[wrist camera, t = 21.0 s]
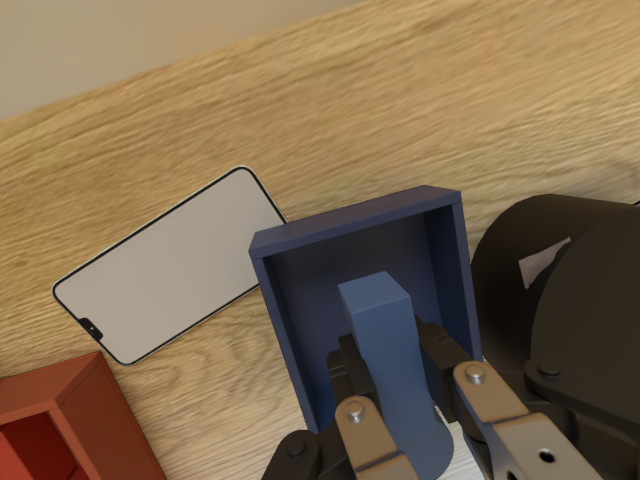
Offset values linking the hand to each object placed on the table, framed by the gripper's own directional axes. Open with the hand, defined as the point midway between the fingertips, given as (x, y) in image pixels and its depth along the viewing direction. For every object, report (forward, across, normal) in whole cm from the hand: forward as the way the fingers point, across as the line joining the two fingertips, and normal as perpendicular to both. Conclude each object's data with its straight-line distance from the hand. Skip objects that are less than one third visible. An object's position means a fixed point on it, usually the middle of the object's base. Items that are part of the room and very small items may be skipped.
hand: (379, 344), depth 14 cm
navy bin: (+9, -1, +2) cm, 9 cm away
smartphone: (+9, +10, -3) cm, 14 cm away
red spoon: (+8, +23, +7) cm, 25 cm away
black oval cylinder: (+9, -16, +7) cm, 20 cm away
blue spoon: (+1, 0, +2) cm, 2 cm away
